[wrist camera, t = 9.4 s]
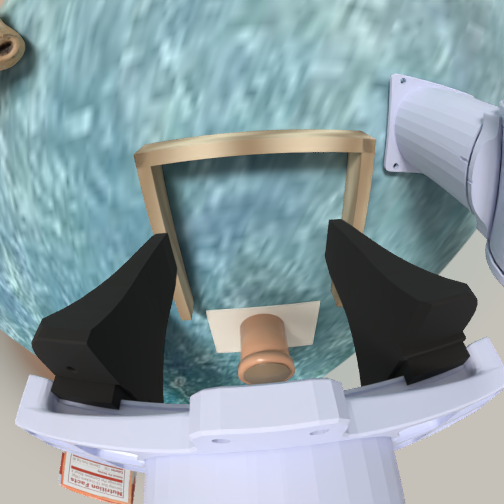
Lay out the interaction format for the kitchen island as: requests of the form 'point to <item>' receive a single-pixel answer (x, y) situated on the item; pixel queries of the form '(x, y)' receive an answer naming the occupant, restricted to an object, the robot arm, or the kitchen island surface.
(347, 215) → the wooden u-shaped frame
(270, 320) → the terracotta pot
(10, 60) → the pottery oil lamp
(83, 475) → the cracker box
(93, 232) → the kitchen island surface
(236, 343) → the potting tile
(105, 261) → the kitchen island surface
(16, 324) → the kitchen island surface
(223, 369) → the kitchen island surface
